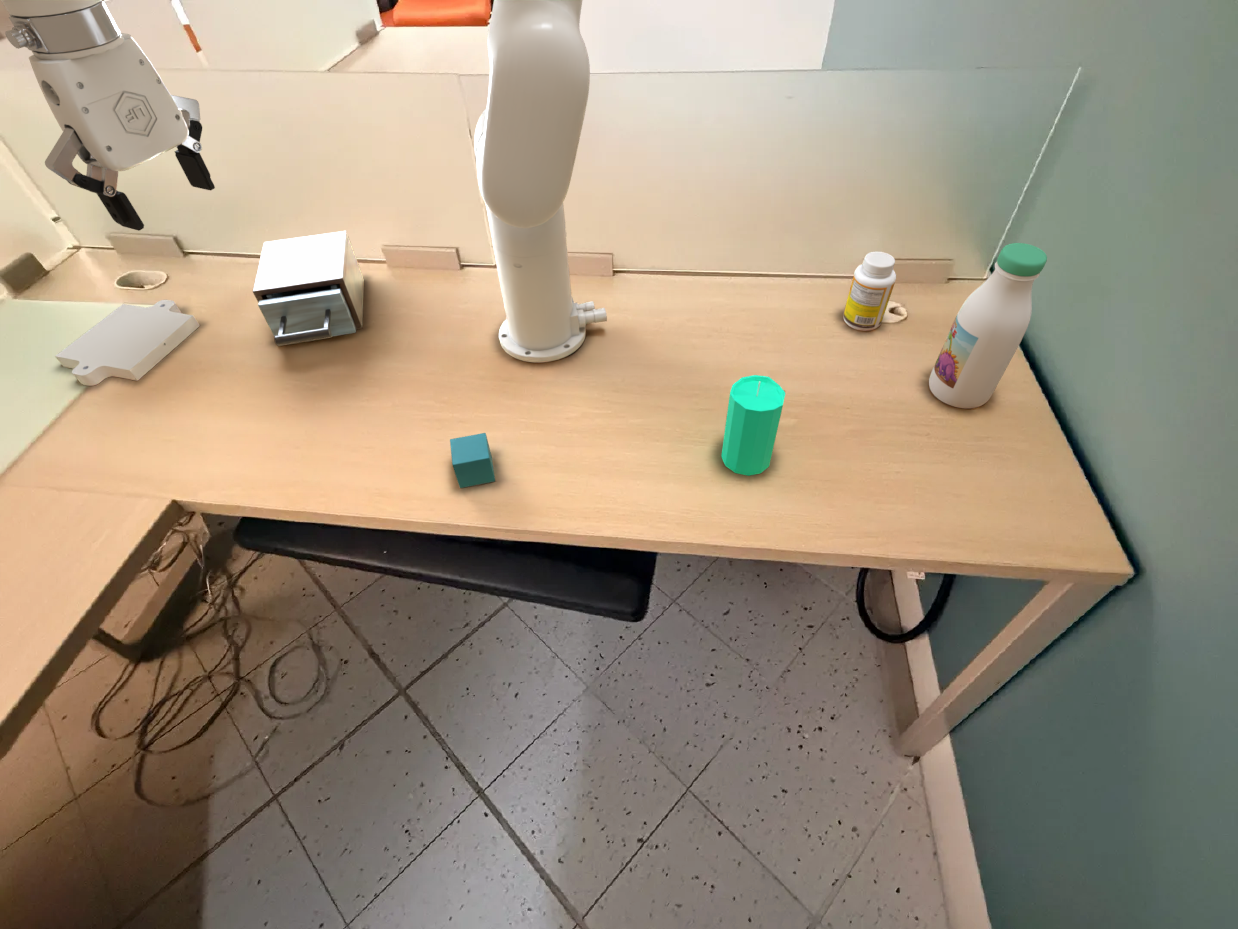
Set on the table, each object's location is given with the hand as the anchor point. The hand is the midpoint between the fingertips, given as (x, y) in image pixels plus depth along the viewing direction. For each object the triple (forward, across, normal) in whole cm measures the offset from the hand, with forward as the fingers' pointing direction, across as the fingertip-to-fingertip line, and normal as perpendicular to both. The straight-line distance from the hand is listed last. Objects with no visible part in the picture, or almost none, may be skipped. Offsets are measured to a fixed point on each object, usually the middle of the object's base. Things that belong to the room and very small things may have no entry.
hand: (169, 206), depth 73 cm
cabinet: (+24, +15, +3) cm, 29 cm away
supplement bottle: (+24, +43, -74) cm, 89 cm away
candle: (+24, +11, -67) cm, 72 cm away
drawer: (+23, +11, -1) cm, 26 cm away
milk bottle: (+24, +33, -89) cm, 98 cm away
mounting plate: (+25, -3, +23) cm, 34 cm away
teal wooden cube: (+24, -4, -38) cm, 45 cm away
